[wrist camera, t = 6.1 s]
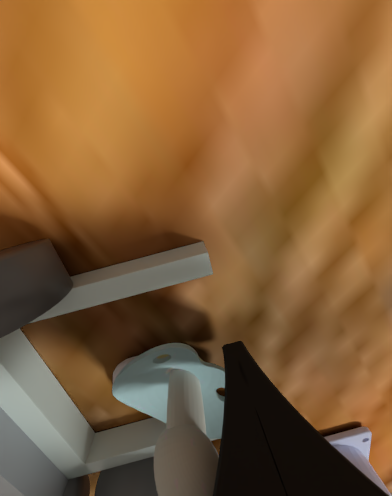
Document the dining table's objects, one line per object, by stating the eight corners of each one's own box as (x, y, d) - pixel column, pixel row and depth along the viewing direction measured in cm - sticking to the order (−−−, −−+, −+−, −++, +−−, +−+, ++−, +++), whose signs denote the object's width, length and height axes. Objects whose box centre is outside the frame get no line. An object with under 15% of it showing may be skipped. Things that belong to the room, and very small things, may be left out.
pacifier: (186, 418, 13) (250, 369, 12) (189, 607, 8) (314, 554, 6) (92, 373, 11) (156, 308, 10) (-5, 587, 5) (120, 497, 4)
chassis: (247, 420, 14) (274, 510, 10) (45, 475, 14) (-5, 586, 10) (192, 198, 8) (204, 213, 5) (-144, 288, 8) (-409, 377, 5)
